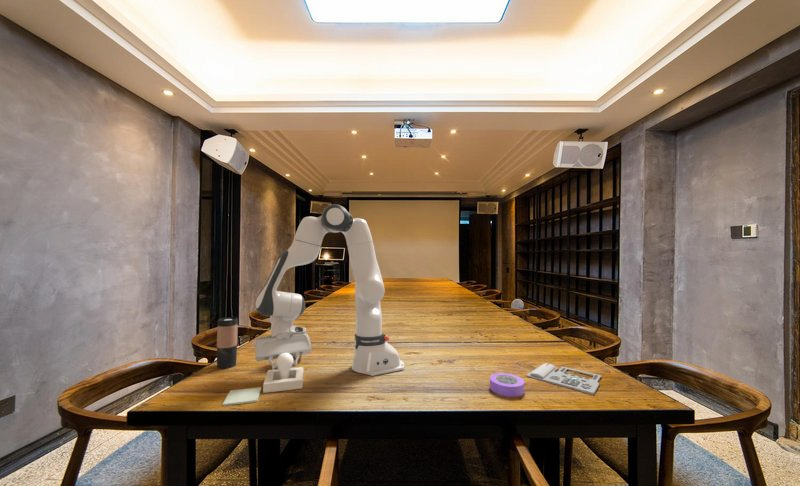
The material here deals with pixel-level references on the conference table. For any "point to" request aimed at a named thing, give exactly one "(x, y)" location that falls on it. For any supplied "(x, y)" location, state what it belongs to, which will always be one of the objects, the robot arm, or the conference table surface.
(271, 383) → the block
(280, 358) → the lightbulb
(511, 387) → the masking tape
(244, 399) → the pad
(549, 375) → the office telephone
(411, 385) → the conference table surface
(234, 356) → the travel mug
